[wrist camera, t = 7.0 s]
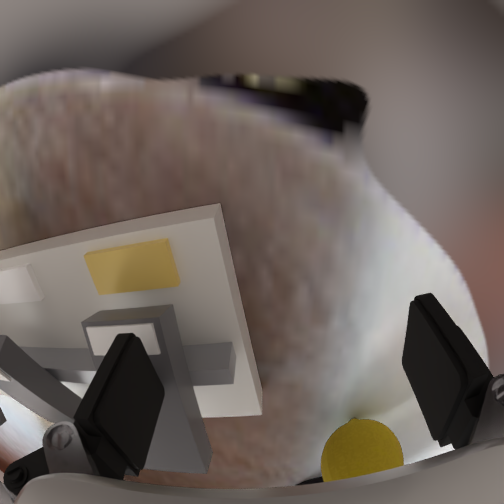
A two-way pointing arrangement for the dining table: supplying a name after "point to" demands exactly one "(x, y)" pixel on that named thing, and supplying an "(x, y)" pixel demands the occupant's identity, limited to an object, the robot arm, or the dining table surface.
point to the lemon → (360, 450)
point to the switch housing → (136, 300)
